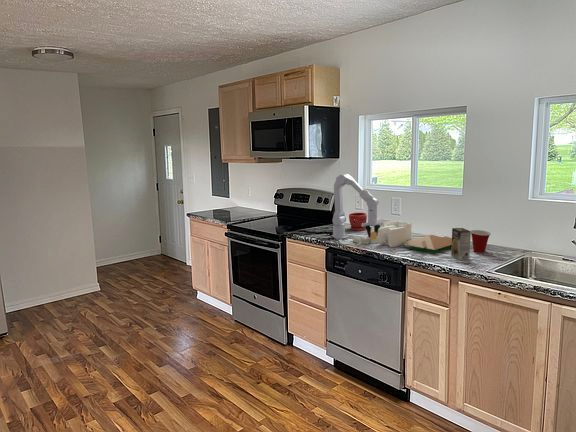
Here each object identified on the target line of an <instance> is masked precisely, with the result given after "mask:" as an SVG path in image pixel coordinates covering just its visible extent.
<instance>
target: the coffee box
mask: <svg viewBox="0 0 576 432" xmlns="http://www.w3.org/2000/svg"><path fill="white" fill-rule="evenodd" d="M451 238H452V249H450V250H451V253H450V254H451V255H450V256H451V257H452V258H454V259H455V260H457V259H458V260H457V261H466V260H465V259H469V260H470V255H471V254H470V253H471V252H470V251H471V239H472V235H471V230H469V229H466V228H463V227H453V228H451Z"/></svg>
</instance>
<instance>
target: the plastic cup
mask: <svg viewBox="0 0 576 432" xmlns="http://www.w3.org/2000/svg"><path fill="white" fill-rule="evenodd" d="M470 231H471V240H472V247H473V252H474V253H476V252H478V253H477V254H482V253H486V249H487V245H488V241H489V238H490V235H491V232H489V231H486V230H480V229H472V230H470Z"/></svg>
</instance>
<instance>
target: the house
mask: <svg viewBox="0 0 576 432" xmlns="http://www.w3.org/2000/svg"><path fill="white" fill-rule="evenodd" d="M403 244H404V245H405V248H410V249H411V250H413V251H416V252H419V253H420V252H421V250H422V253H427V252H429V253H431V254H433V252H434V254H437V253H441V252H442V250H443V252H444V251H446V250H449V249H450V250H452V237H449V236H445V235H444V236H437V235H435V234H429V235H426V236H421V237H419V238H414V239H410V240H406V242H403Z"/></svg>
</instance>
